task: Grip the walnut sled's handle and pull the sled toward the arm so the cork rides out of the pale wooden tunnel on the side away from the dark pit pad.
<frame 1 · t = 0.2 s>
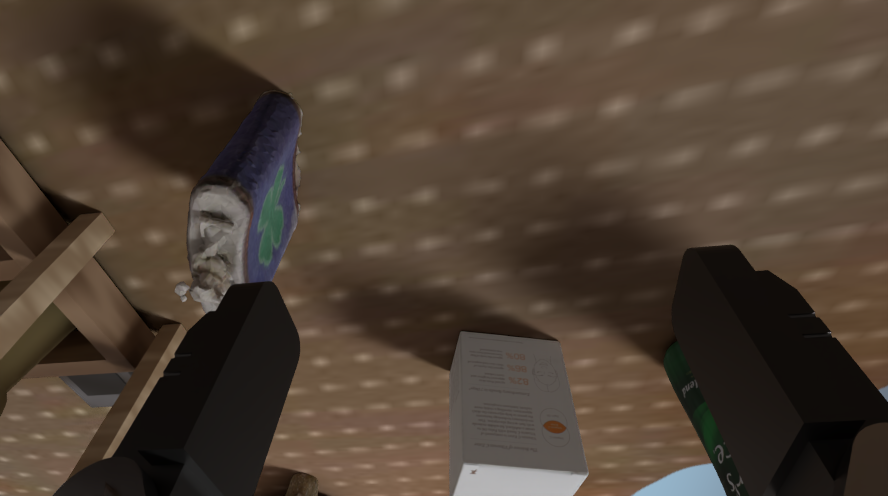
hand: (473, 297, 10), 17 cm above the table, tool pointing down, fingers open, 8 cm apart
tunnel: (51, 289, 35), on the table
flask: (279, 162, 28), on the table
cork: (52, 287, 35), resting in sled
coffee jar: (724, 340, 37), on the table
small box: (503, 354, 39), on the table
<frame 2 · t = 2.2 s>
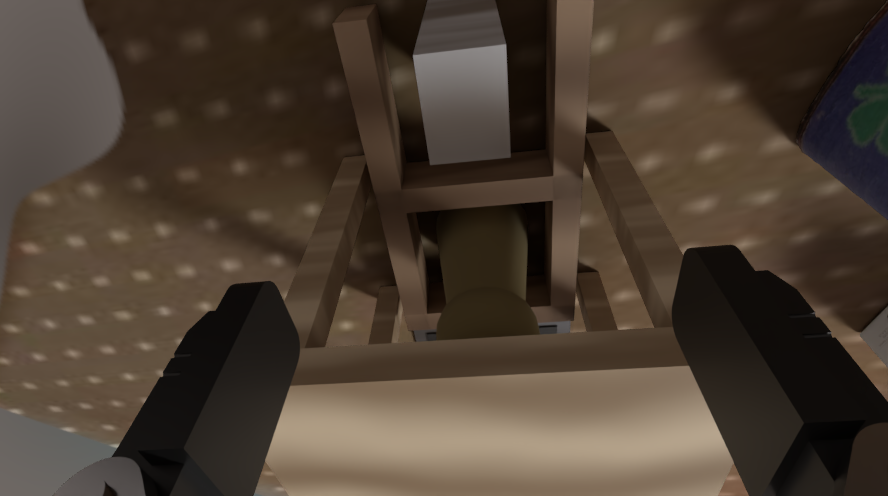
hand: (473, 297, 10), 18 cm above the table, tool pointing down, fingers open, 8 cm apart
tunnel: (481, 228, 31), on the table
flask: (859, 68, 25), on the table
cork: (481, 226, 32), resting in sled
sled: (478, 218, 25), point 5 cm above the table, slide at 0.0 cm
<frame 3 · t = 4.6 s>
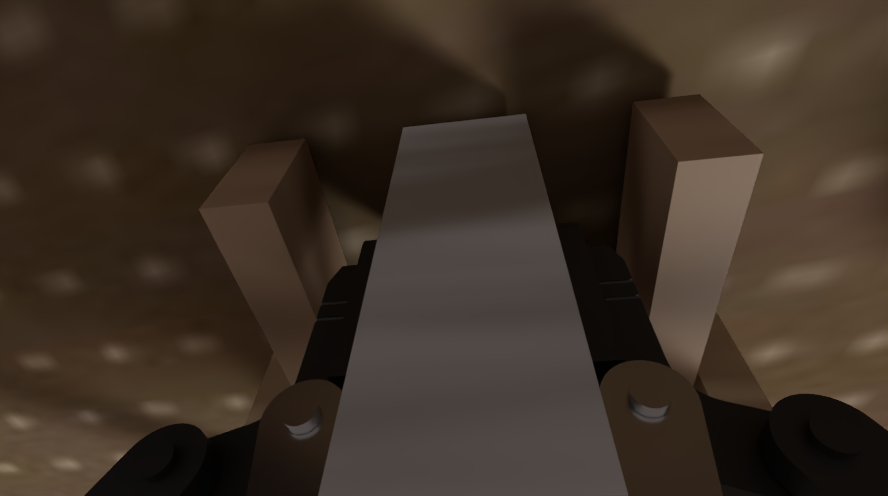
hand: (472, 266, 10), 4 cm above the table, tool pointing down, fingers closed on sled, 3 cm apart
tunnel: (497, 425, 21), on the table
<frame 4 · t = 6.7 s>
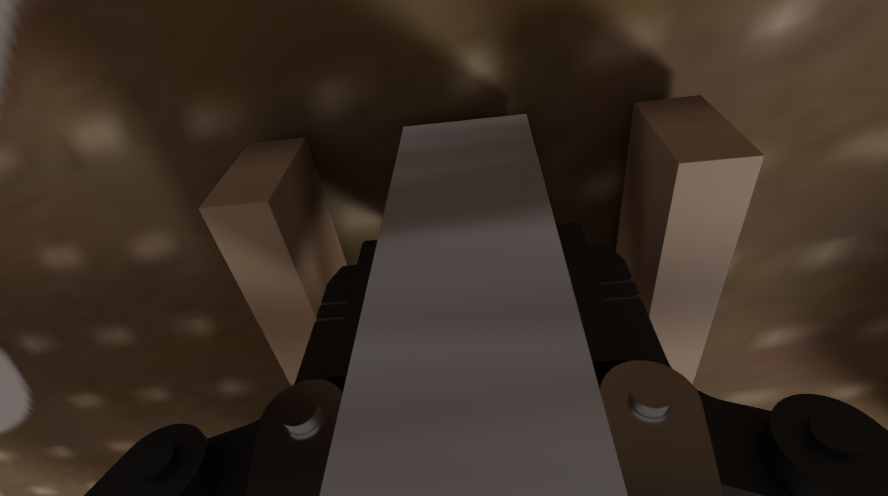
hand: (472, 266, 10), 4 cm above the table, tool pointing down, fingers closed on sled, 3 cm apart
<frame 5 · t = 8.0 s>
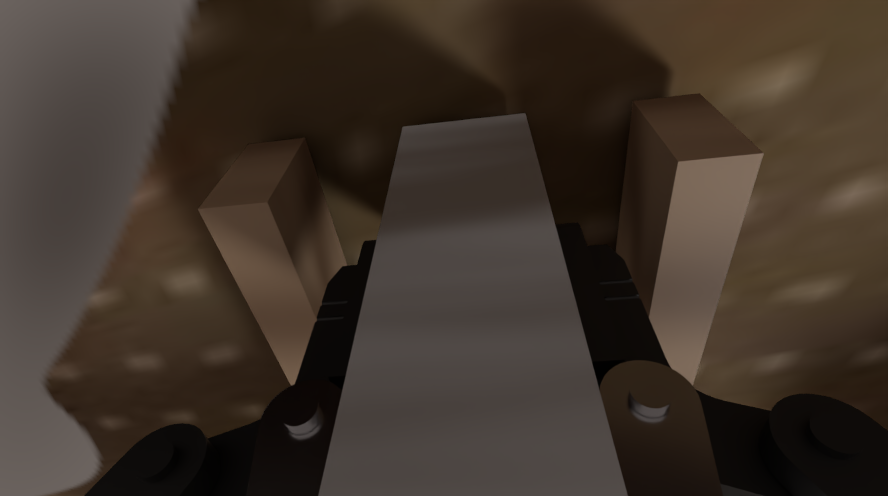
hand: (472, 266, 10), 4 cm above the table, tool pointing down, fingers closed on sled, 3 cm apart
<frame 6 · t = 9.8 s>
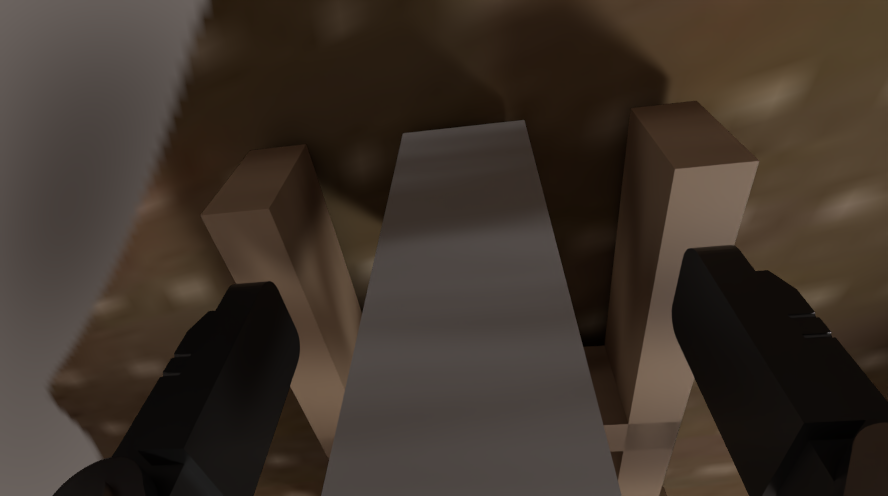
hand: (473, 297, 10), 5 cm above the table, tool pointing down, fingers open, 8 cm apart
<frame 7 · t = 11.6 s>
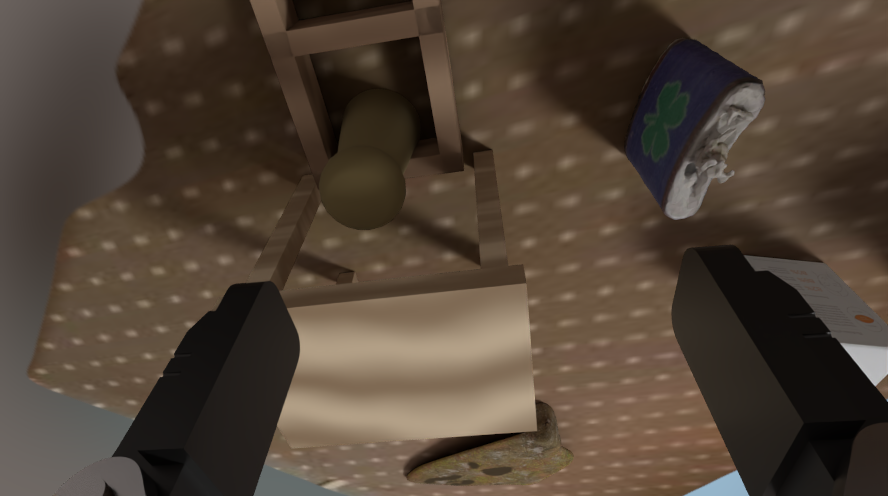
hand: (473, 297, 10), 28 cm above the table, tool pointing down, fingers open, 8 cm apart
tunnel: (410, 224, 42), on the table
decorative stone: (497, 456, 65), on the table
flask: (656, 100, 35), on the table
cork: (382, 126, 37), resting in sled
small box: (767, 279, 45), on the table
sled: (350, 48, 28), point 5 cm above the table, slide at 11.9 cm
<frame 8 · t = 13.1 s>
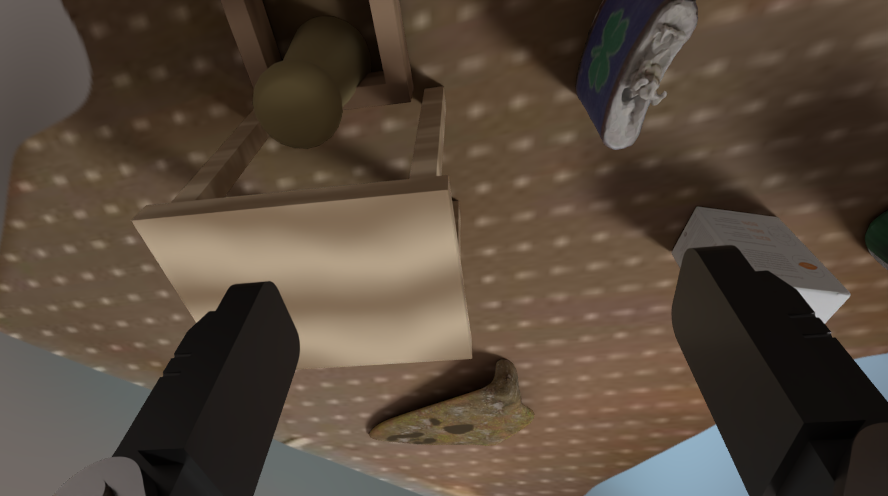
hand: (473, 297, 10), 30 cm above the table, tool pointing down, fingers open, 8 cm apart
tunnel: (364, 165, 42), on the table
decorative stone: (460, 415, 66), on the table
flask: (606, 38, 35), on the table
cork: (332, 58, 36), resting in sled
small box: (721, 233, 45), on the table
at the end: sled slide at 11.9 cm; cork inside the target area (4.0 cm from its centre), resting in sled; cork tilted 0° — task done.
